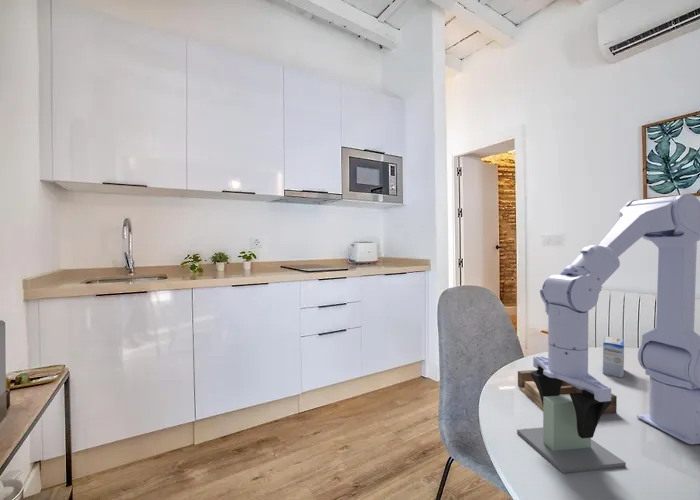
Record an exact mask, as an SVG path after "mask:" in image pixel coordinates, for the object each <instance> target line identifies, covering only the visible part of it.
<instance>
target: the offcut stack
mask: <svg viewBox="0 0 700 500" xmlns="http://www.w3.org/2000/svg"><path fill="white" fill-rule="evenodd" d="M520 391H521V392H522V393H523V394H525V395H526V396H527V397H528V399H530V400H531V401H533V403H535V405H537V407H539V408H541V410H543V405H542V401H541V397H540V394H539V391H538V388H537V386H536V384H535V382H533V381H525V386H524V387H523V388H522V387H520Z"/></svg>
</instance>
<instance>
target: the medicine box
mask: <svg viewBox="0 0 700 500" xmlns="http://www.w3.org/2000/svg"><path fill="white" fill-rule="evenodd" d="M602 345H603V346H602V374H604V375H608V376H612V377H617V378H624V372H625V369H624V368H625V339H624V338H621V337H620V338H619V337H614V336H613V337H612V336H604V338H603V344H602Z"/></svg>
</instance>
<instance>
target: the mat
mask: <svg viewBox="0 0 700 500" xmlns="http://www.w3.org/2000/svg"><path fill="white" fill-rule="evenodd" d="M516 433H517V434H518V435H519V436H520V437H521V438H522V439H523V440H524V441H526V442H527V443H528V444H529V445H530V446H531V447H533V449H535V450H536V451H537V452H538V453H539V454H540V455H541V456H543V457H544V458H545V459H546V460H547V461H548V462H549V463H550V464H552V465H553V466H554V467H555V468H556V469H557V470H559V471H560V472H561V473H562V474H569V473H577V472H587V471H594V470H595V471H596V470H604V469H613V468H623V467H627V466H626V465H627V463H626V461H624V460H622V459H621V458H620V457H618V456H617V455H616V454H614V453H612V452H611V451H609V450H608V449H606V448H605V447H603V446H602V445H600V444H599V443H598V442H597V441H594V439H592V438H591V447H588V448H578V449H568V450H558V451H553V450H552V449H551V448H549V447H548V446H547V445H546V444H544V443H543V426H542V427H534V428H533V427H532V428H521V429H516Z"/></svg>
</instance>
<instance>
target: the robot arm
mask: <svg viewBox="0 0 700 500" xmlns="http://www.w3.org/2000/svg"><path fill="white" fill-rule="evenodd" d="M618 215H619V217H618V218H619V220H618V221H617V222H616V223H615V225H614V226H613V227H612V228H611V230H610V231H609V232H608V233H607V234H606V236H605V237H604V238H603V239H602V240H601V242H600V243H599V244H597V245H595V244H593V245H588V246H584V247H583V248H582V249H581V250H580V253H579V254H578V255H577V256H576V257H575V258H574V259H573V260H572V261H570V263H569V264H568V265H567V266H565V268H564V269H563V270H562V271H561V272H560V273H556V274H552V275H550V276H549V277H548V278H546V279H545V280H544V282H543V284H542V287H541V288H542V289H539V294H540V298H541V300H542V302H543V303H544V307H545V310H544V311H545V313H546V315H547V317H548V319H547V323H548V324H547V326H548V329H547V331H548V335H547V338H548V339H547V341H548V344H547V345H548V347H547V348H548V349H547V352H548V353H547V356H548V357H545V356H541V355H540V356H533V361H532V362H533V363H532V364H533V366H532V367H534V368H535V369H536V370H537V371H532V372H531V377H532V378H533V380H534V382H535V384H536V386H537V388H538V391H539V394H540V397H541V401H542V405H543V397H548V396H559V395H561V394H560V389H561V386H562V382H563V381H565V382H567V383H569V384H571V385H573V386H575V387H577V388H579V389H581V390H582V393H570V397H571V399H572V402H573V404H574V408H575V412H576V419H577V431H578V435H579V437H581V438H591V439H592V438H593V437H594V434H595V432H596V429H597V426H598V424H599V421H600V419H601V417H602V416H603V415H604V414H603V413H604V411H605V410H606V409H607V408H608V407H609V405H610V404H611V403H612V399H611V394H612V388H611V387H609V386H607V385H605V384H604V383H602V382H601V381H600V380H598V379H597V378H595V376H593V375H592V374H590V373H589V311H590V310H592V309H593V308H596V306H597V303H598V300H599V297H600V295H599V294H600V293H601V291H602V289H603V285H604V284H605V283H606V281H608V280H609V278H610V277H612V275H614V273H615V272H616V271H617V270H618V269H619V268H620V264H621V262H620V261H621V260H620V259H619V257H620V256H622V254H624V253H625V252H626V251H627V250H628V249H630V248H631V247H632V246H633V245H635V243H636V242H638V241H639V240H640V239H644V240H646V241H649V242H652V243H653V244H654V245H655V246H656V247H657V248H658V256H657V259H658V260H657V262H658V263H657V290H656V291H657V292H656V294H657V296H656V319H655V320H656V322H655V324H656V325H655V327H654V328H653V329H651V330H648V331H646V332H645V333H643V334H642V335H641V336H642V337H641V342H640V345H639V346H638V351H637V360H638V362H639V363H638V364H639V365H640V366H641V368H642V369H643V370H645V375H647V376H649V404H648V405H649V408H648V411H649V412H648V413H642V414H637V415H636V417H637V418H638V419H639V420H642V421H644V422H645V423H647V424H648V425H651V426H653V427H655V428H657V429H659V430H661V431H662V432H665V433H667V434H668V435H670V436H672V437H674V438H676V439H678V440H680V441H682V442H683V443H686V444H688V445H699V444H700V334H698V333H697V332H696V331H695V311H696V309H695V308H696V281H697V276H696V275H697V252H698V251H697V250H698V248H697V247H698V245H697V244H698V242H699V241H700V200H699V198H697V196H696V195H694V194H692V193H690V192H687V193H682V194H677V195H670V196H669V195H668V196H663V197H662V196H661V197H653V198H646V199H632V200H629V201H628V202H626V204H625V205H624V206H623V207H622V208H620V210H619V214H618Z"/></svg>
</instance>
